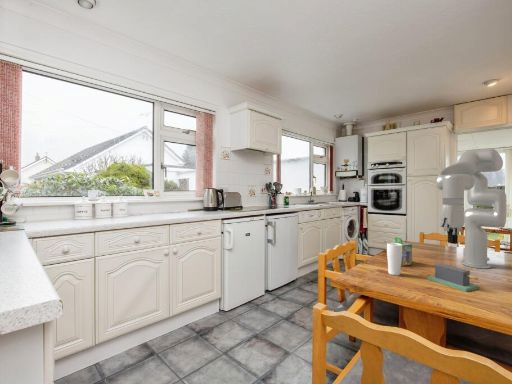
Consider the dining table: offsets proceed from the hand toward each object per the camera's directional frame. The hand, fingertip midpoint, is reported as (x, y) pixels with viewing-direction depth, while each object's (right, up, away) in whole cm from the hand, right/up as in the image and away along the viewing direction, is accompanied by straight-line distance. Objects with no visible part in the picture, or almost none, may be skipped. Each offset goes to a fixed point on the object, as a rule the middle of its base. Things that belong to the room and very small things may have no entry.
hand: (452, 243), depth 116 cm
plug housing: (0, -17, -2) cm, 17 cm away
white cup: (-20, -18, +12) cm, 29 cm away
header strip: (-1, -18, 0) cm, 18 cm away
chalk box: (-7, -18, +31) cm, 36 cm away
